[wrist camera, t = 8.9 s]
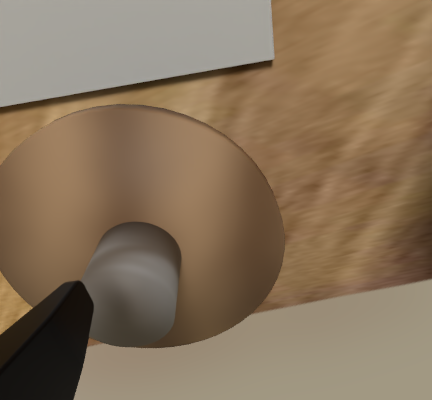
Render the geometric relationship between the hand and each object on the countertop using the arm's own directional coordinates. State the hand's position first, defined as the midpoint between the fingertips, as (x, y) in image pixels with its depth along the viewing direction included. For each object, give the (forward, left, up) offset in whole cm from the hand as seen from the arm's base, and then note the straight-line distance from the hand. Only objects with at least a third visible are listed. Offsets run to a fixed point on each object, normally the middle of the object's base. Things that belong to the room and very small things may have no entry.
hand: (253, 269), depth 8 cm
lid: (+5, +4, -7) cm, 10 cm away
